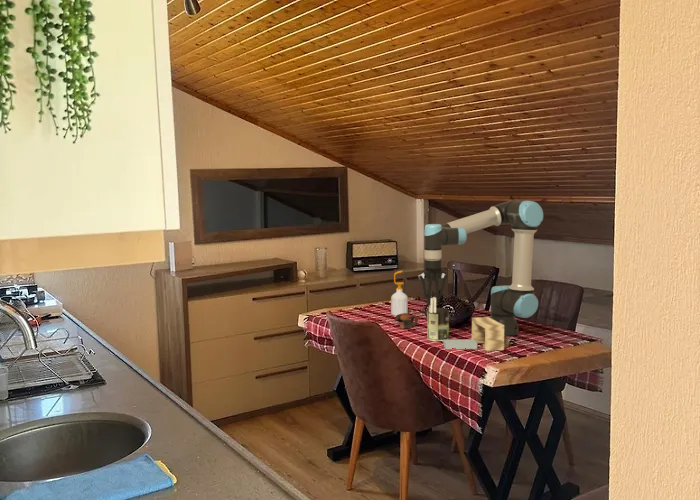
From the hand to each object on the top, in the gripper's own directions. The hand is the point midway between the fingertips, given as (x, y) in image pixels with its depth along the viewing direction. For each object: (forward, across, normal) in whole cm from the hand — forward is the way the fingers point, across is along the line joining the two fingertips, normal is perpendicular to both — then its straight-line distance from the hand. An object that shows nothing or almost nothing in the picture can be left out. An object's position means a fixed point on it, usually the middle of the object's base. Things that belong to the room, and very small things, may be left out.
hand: (432, 312), depth 297 cm
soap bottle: (+17, -5, -74) cm, 76 cm away
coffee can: (+17, -8, -16) cm, 24 cm away
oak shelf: (+16, -28, 0) cm, 32 cm away
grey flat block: (+17, -13, 0) cm, 21 cm away
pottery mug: (+17, -1, -44) cm, 47 cm away
